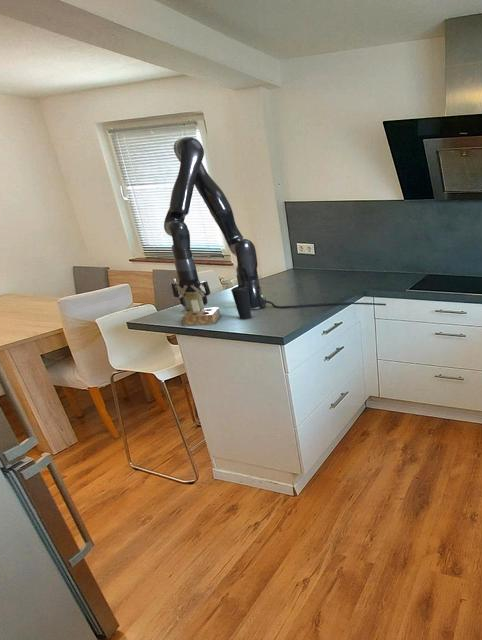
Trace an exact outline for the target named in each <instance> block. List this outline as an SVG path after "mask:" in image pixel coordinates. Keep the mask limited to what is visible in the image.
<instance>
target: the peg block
mask: <svg viewBox="0 0 482 640" xmlns="http://www.w3.org/2000/svg"><path fill="white" fill-rule="evenodd" d="M220 317H221V311H220V308H219V307H206V308H205V307H203V308H202V309H200V311H199V312H193V309H190V310H187V312H186V313H184V314H183V316H181V319H182V322H183V326H186V327H187V326H201V325H214V324H215V323H217V321H218V320H219V318H220Z"/></svg>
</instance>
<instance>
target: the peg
mask: <svg viewBox="0 0 482 640" xmlns="http://www.w3.org/2000/svg"><path fill="white" fill-rule="evenodd" d="M191 304H192V308H193V312H199V311H200V308H199V304H198V299H193V300H191Z"/></svg>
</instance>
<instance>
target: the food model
mask: <svg viewBox="0 0 482 640" xmlns="http://www.w3.org/2000/svg"><path fill="white" fill-rule="evenodd" d="M174 277H175V282H176V283H179V279H178V275H177V271H176V269H175V270H174ZM177 289H178V294H180V293H181V291H182V288H181V287H180V286H178V288H177ZM183 297H184V298H185V302H186V306H183V307H184V309H185V310H187V311H189V310H190V309H193V308H192V304H191V300H193V299H198V304H199V308H200V309H203V308H205V305H204V304H203V300H202V297H203V296H201V295H200V294H199V293H197V292H188V293H187V292H186V293H185V294H184V296H183Z"/></svg>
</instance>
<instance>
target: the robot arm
mask: <svg viewBox="0 0 482 640" xmlns="http://www.w3.org/2000/svg"><path fill="white" fill-rule="evenodd" d="M173 152H174V155H175V157H176V158H177V160H178V162H180V164H179V169H178V174H177V176H176V179H175V182H174V184H173V187H172V190H171V194H170V201H169V207H168V210H167V212H166V215H165V218H164V222H163V229H164V232H165V234H167V235H168V236H170V237H171V239H172V244H171V252H172V256H173V260H174V267H175V270H176V271H177V275H178V279H179V283H176V281H174V282H172V283H171V289H172V294H173V297H174V298H178V299H179V302H180V306H182V307H184V306H186V302H185V298H184V297H183V296H184V294H185V293H186V292H187V293H188V292H197V293H199V294H200V295H201V296H202V300H203V304H204V306H207V304H208V302H209V301H208V296H209V295H211V289H210V286H209V283H208V281H207V280H204V281H200V278H199V275H198V270H197V266H196V262H195V260H194V256H193V253H192V249H191V233H190V229H189V227H188V225H187V223H186V222H185V219H186V217H187V216H188V215H189V214H190V211H191V205H192V198H193V193H194V187H195V188H196V190H197V192H198V194H199V196H200V198H201V199H202V201H203V203H204V205H205V207H206V209H207V210H208V212H209V213H210V215H211V217H212V218H213V220H214V222H215V224H216V225H217V227H218V229H219V230H220V231H221V233H222V236H223V237H224V240H225V242H226V244H227V246H228V249H229V251H230V252H231V254H232V255H233V256H234V257H235V258H236V264H237V266H236V268H235V271H236V274H238V277H239V282H240V285H242V286H246V287H249V298H250V310H251V311H252V310H259V309H263V308H264V306H266V305H267V304H271V305H272V307H274V308H276V309H288V308H290V309H291V308H303V307H317V306H331V305H364V306H365V305H366V306H367V305H368V306H387V303H378V302H343V301H341V302H323V303H322V302H321V303H308V304H307V303H306V304H296V305H283V306H279V305H276V304H275V303H273V301H270V300H267V298H266V297H263V291H262V286H261V285H260V281H259V280H260V279H259V274H258V256H257V251H256V250H257V249H256V247H255V244H254V243H253V242H252V241H251V240H250V239H248V238H244V236H243V235H242V233H241V231H240V230H239V228H238V226H237V224H236V220H235V217H234V216H235V215H234V212H233V208H232V206H231V204H230V202H229V200H228V198H227V196H226V195H225V193H224V191H223V190H222V188H221V187H220V186H219V185H218V183H216V182H215V180H214V179H213V178H212V177H211V176H210V173H208V171H207V170H206V168H205V165H204V163H203V159H204V156H205V149H204V147H203V145H202V143H201V142H200V140H198V139H197V138H195V137H192V136H185V137H182V138H178V139H176V140H175V141H174V144H173ZM178 286H180V287H181V288H182V291H181V293H180V294H179V292H178ZM201 286H202V287H203V288H204V290H203V289H202V288H201Z"/></svg>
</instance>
